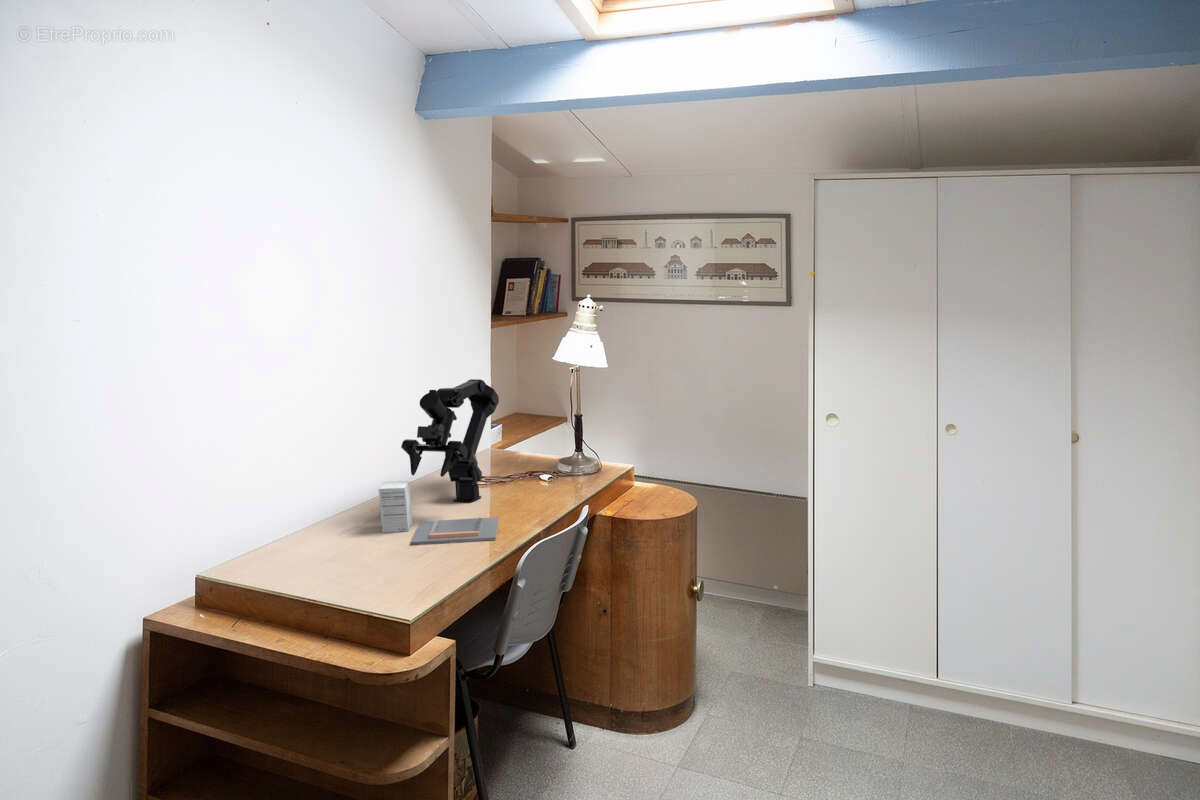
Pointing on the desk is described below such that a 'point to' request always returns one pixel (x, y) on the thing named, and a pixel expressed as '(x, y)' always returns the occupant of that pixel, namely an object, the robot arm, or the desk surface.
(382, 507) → the supplement box
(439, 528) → the rail stand
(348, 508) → the desk surface
